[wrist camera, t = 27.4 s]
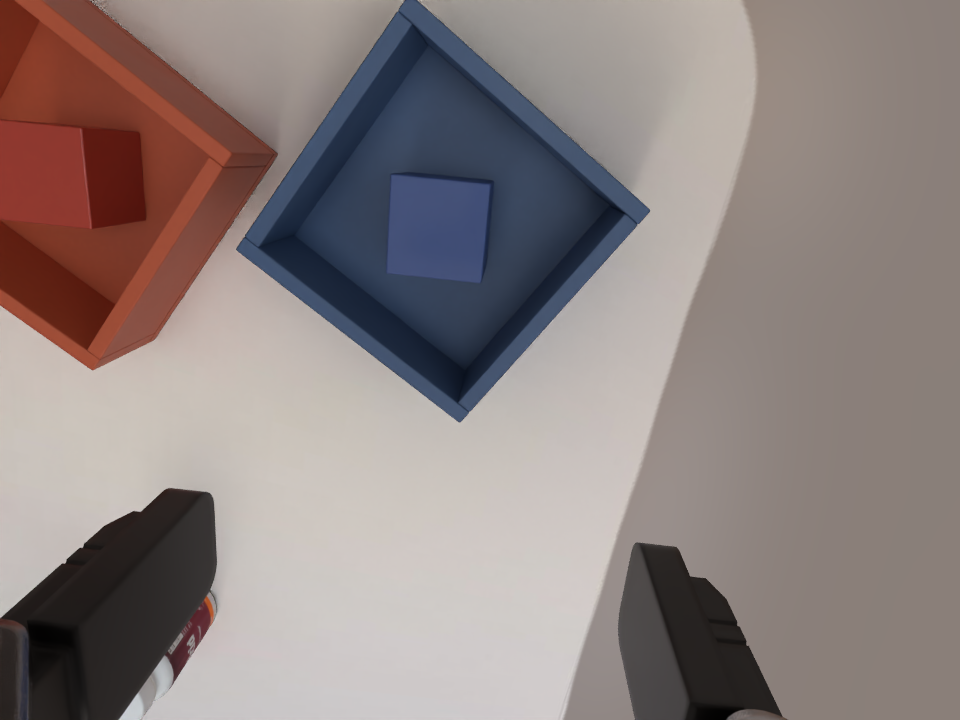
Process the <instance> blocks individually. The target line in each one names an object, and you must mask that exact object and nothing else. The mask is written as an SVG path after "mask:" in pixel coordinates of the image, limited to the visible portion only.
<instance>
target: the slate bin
mask: <svg viewBox="0 0 960 720" xmlns="http://www.w3.org/2000/svg"><path fill="white" fill-rule="evenodd" d="M402 172H416V173H426V174H436V175H446V176H456V177H465V178H475V179H485V180H493V181H494V191H493V201H492V212H491V222H490V232H489V242H488V252H487V262H486V268H485V272H484V275H483V279H482V282H481V283H470V282H461V281H451V280H442V279H432V278H423V277H413V276H404V275H394V274H387V273H386V257H387V236H388V214H389V193H390V175H391V174H393V173H402ZM649 212H650V209H649V208H648V207H646V206H645V205H644V204H643V203H642V202H641V201H640V200H639V199H638V198H636V197H635V196H634V195H633V194H632V193H631V192H630V191H629V190H628V189H626V188H625V187H624V186H623V185H622V184H621V183H620V182H619V181H618V180H616V179H615V178H614V177H613V176H612V175H611V174H610V173H609V172H607V171H606V170H605V169H604V168H603V167H602V166H601V165H600V164H599V163H597V162H596V161H595V160H594V159H593V158H592V157H591V156H590V155H589V154H587V153H586V152H585V151H584V150H583V149H582V148H581V147H580V146H579V145H577V144H576V143H575V142H574V141H573V140H572V139H571V138H570V137H569V136H567V135H566V134H565V133H564V132H563V131H562V130H561V129H560V128H559V127H557V126H556V125H555V124H554V123H553V122H552V121H551V120H550V119H549V118H547V117H546V116H545V115H544V114H543V113H542V112H541V111H540V110H539V109H537V108H536V107H535V106H534V105H533V104H532V103H531V102H530V101H529V100H527V99H526V98H525V97H524V96H523V95H522V94H521V93H520V92H519V91H517V90H516V89H515V88H514V87H513V86H512V85H511V84H510V83H509V82H507V81H506V80H505V79H504V78H503V77H502V76H501V75H500V74H498V73H497V72H496V71H495V70H494V69H493V68H492V67H491V66H490V65H488V64H487V63H486V62H485V61H484V60H483V59H482V58H481V57H480V56H478V55H477V54H476V53H475V52H474V51H473V50H472V49H471V48H470V47H468V46H467V45H466V44H465V43H464V42H463V41H462V40H461V39H460V38H458V37H457V36H456V35H455V34H454V33H453V32H452V31H451V30H450V29H448V28H447V27H446V26H445V25H444V24H443V23H442V22H441V21H440V20H438V19H437V18H436V17H435V16H434V15H433V14H432V13H431V12H430V11H428V10H427V9H426V8H425V7H424V6H423V5H422V4H421V3H420V2H418V1H417V0H405V1H404V2H403V4H402V5H401V7H400V8H399V12H397V13H396V14H395V16H394V17H393V19H392V20H391V22H390V23H389V24H388V26H387V27H386V29H385V30H384V32H383V33H382V35H381V36H380V38H379V39H378V41H377V42H376V44H375V45H374V47H373V48H372V50H371V51H370V52H369V54H368V55H367V57H366V58H365V60H364V61H363V63H362V64H361V66H360V67H359V69H358V70H357V72H356V73H355V75H354V76H353V77H352V79H351V80H350V82H349V83H348V85H347V86H346V88H345V89H344V91H343V92H342V94H341V95H340V97H339V98H338V100H337V101H336V103H335V104H334V105H333V107H332V108H331V110H330V111H329V113H328V114H327V116H326V117H325V119H324V120H323V122H322V123H321V125H320V126H319V128H318V129H317V131H316V132H315V133H314V135H313V136H312V138H311V139H310V141H309V142H308V144H307V145H306V147H305V148H304V150H303V151H302V153H301V154H300V156H299V157H298V158H297V160H296V161H295V163H294V164H293V166H292V167H291V169H290V170H289V172H288V173H287V175H286V176H285V178H284V179H283V181H282V182H281V184H280V185H279V186H278V188H277V189H276V191H275V192H274V194H273V195H272V197H271V198H270V200H269V201H268V203H267V204H266V206H265V207H264V209H263V210H262V212H261V213H260V214H259V216H258V217H257V219H256V220H255V222H254V223H253V225H252V226H251V228H250V229H249V231H248V232H247V234H246V235H245V237H244V238H243V240H242V241H241V243H240V244H239V245H238V247H237V249H236V250H237V251H238V252H240V253H241V254H242V255H243V256H245V257H246V258H247V259H249V260H250V261H251V262H252V263H254V264H255V265H256V266H258V267H259V268H260V269H261V270H263V271H264V272H265V273H267V274H268V275H269V276H271V277H272V278H273V279H274V280H276V281H277V282H278V283H280V284H281V285H282V286H283V287H285V288H286V289H287V290H289V291H290V292H291V293H292V294H294V295H295V296H296V297H298V298H299V299H300V300H302V301H303V302H304V303H305V304H307V305H308V306H309V307H311V308H312V309H313V310H314V311H316V312H317V313H318V314H320V315H321V316H322V317H323V318H325V319H326V320H327V321H329V322H330V323H331V324H333V325H334V326H335V327H336V328H338V329H339V330H340V331H342V332H343V333H344V334H345V335H347V336H348V337H349V338H351V339H352V340H353V341H354V342H356V343H357V344H358V345H360V346H361V347H362V348H364V349H365V350H366V351H367V352H369V353H370V354H371V355H373V356H374V357H375V358H376V359H378V360H379V361H380V362H382V363H383V364H384V365H385V366H387V367H388V368H389V369H391V370H392V371H393V372H395V373H396V374H397V375H398V376H400V377H401V378H402V379H404V380H405V381H406V382H407V383H409V384H410V385H411V386H413V387H414V388H415V389H416V390H418V391H419V392H420V393H422V394H423V395H424V396H426V397H427V398H428V399H429V400H431V401H432V402H433V403H435V404H436V405H437V406H438V407H440V408H441V409H442V410H444V411H445V412H446V413H447V414H449V415H450V416H451V417H453V418H454V419H455V420H457V421H458V422H461V421H462V420H463V419H464V418H465V417H466V416H467V415H468V413H469V411H471V410H472V409H473V408H474V407H475V406H476V405H477V403H478V402H479V401H480V400H481V399H482V398H483V397H484V396H485V395H486V393H487V392H488V391H489V390H490V389H491V388H492V387H493V386H494V384H495V383H496V382H497V381H498V380H499V379H500V378H501V377H502V376H503V374H504V373H505V372H506V371H507V370H508V369H509V368H510V367H511V366H512V364H513V363H514V362H515V361H516V360H517V359H518V358H519V357H520V356H521V354H522V353H523V352H524V351H525V350H526V349H527V348H528V347H529V346H530V344H531V343H532V342H533V341H534V340H535V339H536V338H537V337H538V336H539V334H540V333H541V332H542V331H543V330H544V329H545V328H546V327H547V325H548V324H549V323H550V322H551V321H552V320H553V319H554V318H555V317H556V315H557V314H558V313H559V312H560V311H561V310H562V309H563V308H564V307H565V305H566V304H567V303H568V302H569V301H570V300H571V299H572V298H573V297H574V295H575V294H576V293H577V292H578V291H579V290H580V289H581V288H582V287H583V285H584V284H585V283H586V282H587V281H588V280H589V279H590V278H591V277H592V275H593V274H594V273H595V272H596V271H597V270H598V269H599V268H600V266H601V265H602V264H603V263H604V262H605V261H606V260H607V259H608V258H609V256H610V255H611V254H612V253H613V252H614V251H615V250H616V249H617V248H618V246H619V245H620V244H621V243H622V242H623V241H624V240H625V239H626V238H627V236H628V235H629V234H630V233H631V232H632V231H633V230H634V229H635V228H636V226H637V224H639V223H640V222H641V221H642V220H643V219H644V218H645V217H646V215H647V214H648V213H649Z"/></svg>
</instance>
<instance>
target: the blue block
mask: <svg viewBox="0 0 960 720" xmlns="http://www.w3.org/2000/svg"><path fill="white" fill-rule="evenodd" d="M493 191H494V181H493V180H485V179H475V178H465V177H456V176H446V175H436V174H426V173H416V172H402V173H393V174H391V175H390V193H389V214H388V236H387V257H386V273H387V274H394V275H404V276H413V277H423V278H432V279H442V280H451V281H461V282H470V283H481V282H482V279H483V275H484V272H485V268H486V262H487V252H488V242H489V232H490V222H491V212H492V201H493Z"/></svg>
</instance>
